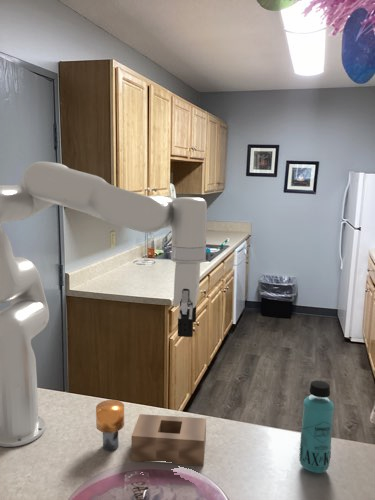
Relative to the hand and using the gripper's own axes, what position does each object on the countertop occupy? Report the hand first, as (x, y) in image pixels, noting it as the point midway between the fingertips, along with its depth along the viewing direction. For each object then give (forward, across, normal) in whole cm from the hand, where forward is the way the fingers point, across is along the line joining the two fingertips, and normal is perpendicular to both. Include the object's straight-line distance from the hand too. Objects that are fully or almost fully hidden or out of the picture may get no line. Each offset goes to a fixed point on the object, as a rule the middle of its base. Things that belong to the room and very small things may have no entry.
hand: (187, 328), depth 96 cm
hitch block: (+29, +2, -3) cm, 29 cm away
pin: (+29, +2, -17) cm, 34 cm away
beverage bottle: (+29, +6, +29) cm, 41 cm away
